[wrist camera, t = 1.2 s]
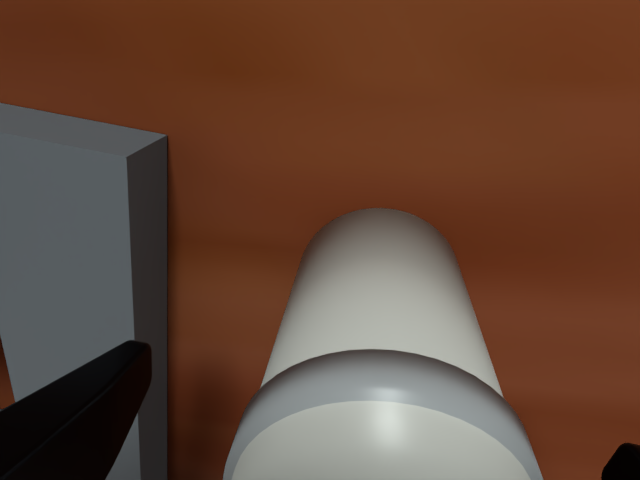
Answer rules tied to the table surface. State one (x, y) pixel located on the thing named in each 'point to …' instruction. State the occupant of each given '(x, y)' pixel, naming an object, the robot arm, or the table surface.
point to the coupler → (380, 368)
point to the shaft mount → (85, 260)
